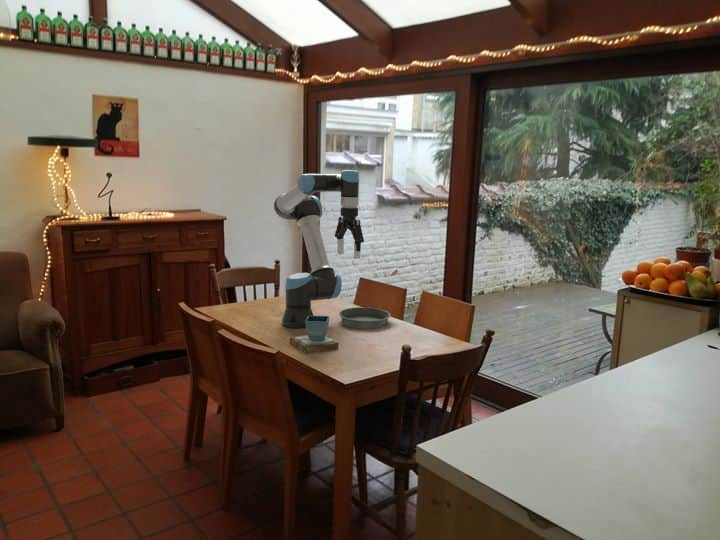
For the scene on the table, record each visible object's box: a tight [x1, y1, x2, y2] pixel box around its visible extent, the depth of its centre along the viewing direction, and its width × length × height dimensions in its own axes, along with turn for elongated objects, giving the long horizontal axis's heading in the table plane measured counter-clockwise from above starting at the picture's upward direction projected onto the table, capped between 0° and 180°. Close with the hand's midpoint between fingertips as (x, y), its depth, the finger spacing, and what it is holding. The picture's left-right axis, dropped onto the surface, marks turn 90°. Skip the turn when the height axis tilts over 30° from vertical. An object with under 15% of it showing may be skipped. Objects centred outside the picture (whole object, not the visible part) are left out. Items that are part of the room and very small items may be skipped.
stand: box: [289, 334, 339, 354], centre depth 244 cm, size 16×14×3 cm
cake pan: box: [338, 306, 392, 329], centre depth 281 cm, size 25×25×4 cm
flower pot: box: [305, 315, 330, 341], centre depth 242 cm, size 9×9×9 cm
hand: (348, 256), depth 256 cm, fingers open, 13 cm apart
